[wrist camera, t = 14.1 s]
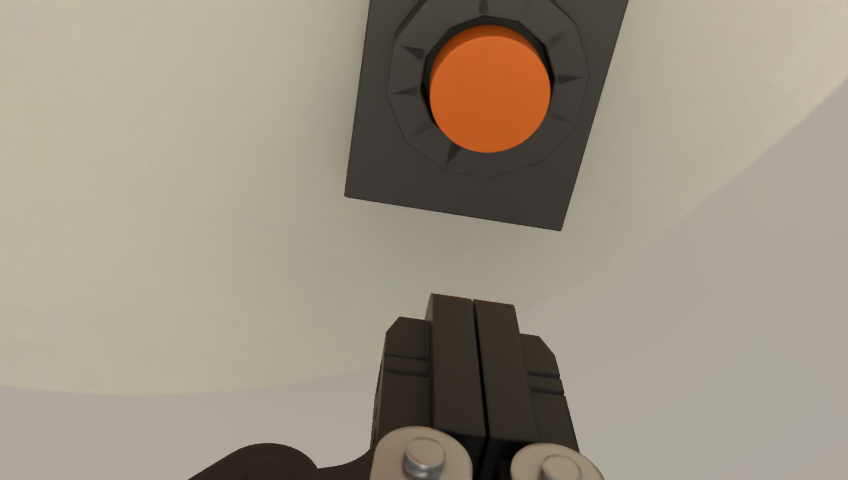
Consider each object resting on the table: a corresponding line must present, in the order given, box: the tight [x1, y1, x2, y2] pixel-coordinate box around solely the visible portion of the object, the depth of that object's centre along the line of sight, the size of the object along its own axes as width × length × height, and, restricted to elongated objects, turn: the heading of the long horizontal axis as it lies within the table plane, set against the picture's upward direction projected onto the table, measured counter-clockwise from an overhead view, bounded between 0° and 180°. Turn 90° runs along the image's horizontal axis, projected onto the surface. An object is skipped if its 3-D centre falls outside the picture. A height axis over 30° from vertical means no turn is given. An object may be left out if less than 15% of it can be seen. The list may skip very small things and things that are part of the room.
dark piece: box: [344, 0, 628, 231], centre depth 27 cm, size 12×9×4 cm
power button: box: [430, 25, 550, 153], centre depth 25 cm, size 4×4×2 cm
